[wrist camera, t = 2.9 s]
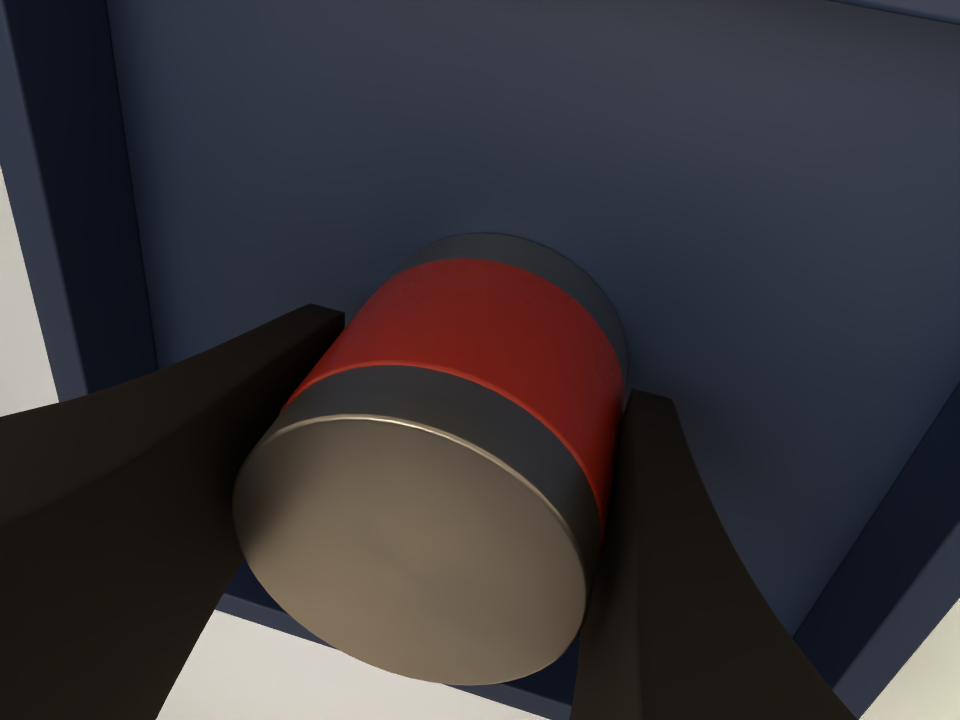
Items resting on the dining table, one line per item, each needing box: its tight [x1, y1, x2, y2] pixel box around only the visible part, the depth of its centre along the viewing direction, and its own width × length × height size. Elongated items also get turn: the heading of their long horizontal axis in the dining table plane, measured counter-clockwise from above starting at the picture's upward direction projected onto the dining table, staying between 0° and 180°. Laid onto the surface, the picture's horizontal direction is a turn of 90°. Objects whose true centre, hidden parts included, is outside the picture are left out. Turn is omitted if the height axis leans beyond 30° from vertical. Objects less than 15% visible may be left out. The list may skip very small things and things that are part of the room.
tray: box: [0, 0, 960, 720], centre depth 12 cm, size 15×14×2 cm
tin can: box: [232, 233, 628, 685], centre depth 11 cm, size 5×5×5 cm
